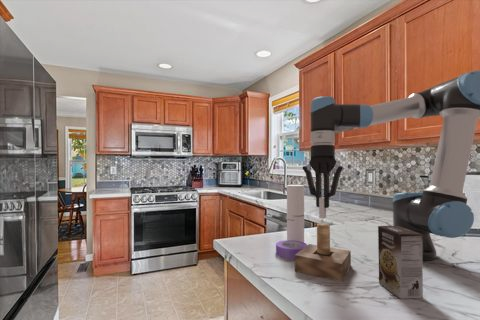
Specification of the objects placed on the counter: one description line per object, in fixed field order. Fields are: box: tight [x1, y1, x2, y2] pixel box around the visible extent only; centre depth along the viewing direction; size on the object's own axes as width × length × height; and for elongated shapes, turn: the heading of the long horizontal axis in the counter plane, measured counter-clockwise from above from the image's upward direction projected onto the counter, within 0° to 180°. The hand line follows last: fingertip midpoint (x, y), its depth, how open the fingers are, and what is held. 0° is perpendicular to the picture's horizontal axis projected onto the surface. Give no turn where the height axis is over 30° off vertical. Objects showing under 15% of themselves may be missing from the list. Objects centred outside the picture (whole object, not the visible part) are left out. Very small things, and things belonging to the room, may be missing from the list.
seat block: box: [294, 243, 352, 283], centre depth 84 cm, size 14×14×5 cm
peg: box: [316, 223, 331, 257], centre depth 84 cm, size 4×4×14 cm
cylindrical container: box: [286, 184, 305, 243], centre depth 110 cm, size 7×7×25 cm
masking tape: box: [275, 239, 308, 260], centre depth 98 cm, size 12×12×4 cm
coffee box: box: [377, 225, 424, 300], centre depth 69 cm, size 9×6×16 cm
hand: (322, 217), depth 84 cm, fingers closed
